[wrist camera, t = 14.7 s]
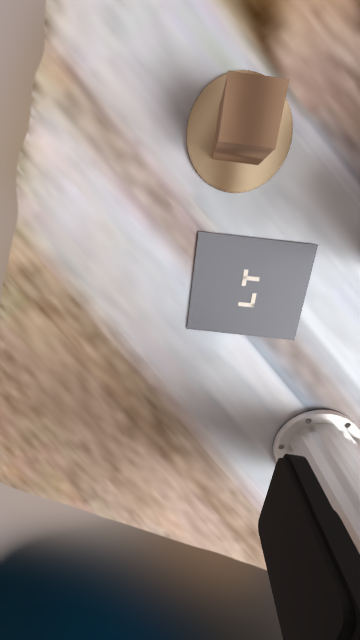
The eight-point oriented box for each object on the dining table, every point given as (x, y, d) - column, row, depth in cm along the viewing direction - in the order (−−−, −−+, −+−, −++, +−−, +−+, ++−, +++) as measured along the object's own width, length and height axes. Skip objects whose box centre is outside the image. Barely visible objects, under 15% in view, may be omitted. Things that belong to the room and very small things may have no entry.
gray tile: (317, 244, 32) (318, 244, 32) (293, 339, 36) (294, 340, 36) (198, 231, 32) (198, 231, 32) (186, 328, 36) (186, 328, 35)
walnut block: (268, 110, 28) (289, 79, 22) (258, 165, 30) (275, 148, 24) (219, 104, 28) (228, 70, 22) (212, 159, 29) (218, 141, 24)
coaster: (302, 79, 28) (303, 77, 27) (278, 198, 31) (280, 197, 30) (193, 66, 27) (193, 63, 27) (181, 187, 31) (181, 186, 30)
